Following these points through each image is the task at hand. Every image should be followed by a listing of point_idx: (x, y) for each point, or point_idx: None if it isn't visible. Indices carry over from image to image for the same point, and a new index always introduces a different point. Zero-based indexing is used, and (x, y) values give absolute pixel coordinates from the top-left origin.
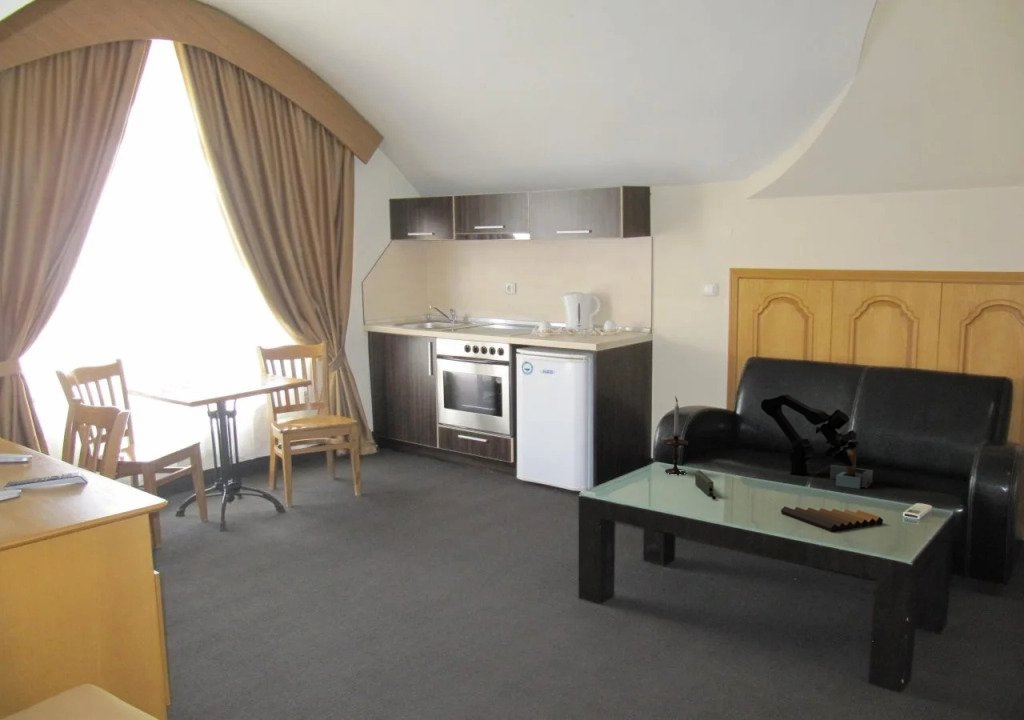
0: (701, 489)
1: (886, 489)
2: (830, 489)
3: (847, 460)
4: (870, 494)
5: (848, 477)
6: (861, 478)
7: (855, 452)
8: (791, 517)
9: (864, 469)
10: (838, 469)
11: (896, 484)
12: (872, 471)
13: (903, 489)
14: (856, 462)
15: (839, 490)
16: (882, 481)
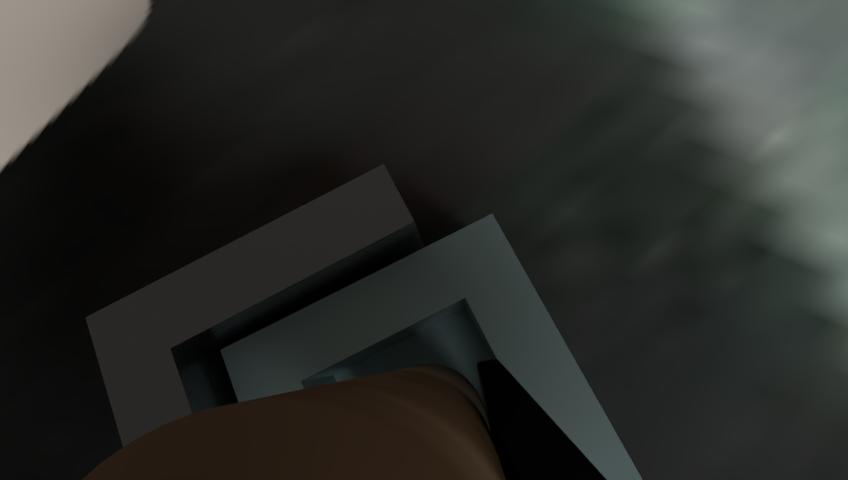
0: None
1: (282, 120)
2: (820, 357)
3: (590, 476)
4: (561, 53)
5: (565, 344)
6: (412, 257)
7: (308, 392)
8: None
9: (149, 405)
10: None
11: (43, 210)
12: (115, 310)
13: (162, 67)
14: None
15: (746, 279)
16: (31, 352)
